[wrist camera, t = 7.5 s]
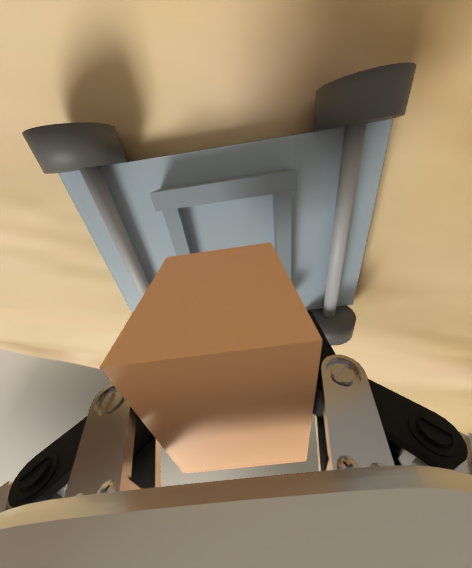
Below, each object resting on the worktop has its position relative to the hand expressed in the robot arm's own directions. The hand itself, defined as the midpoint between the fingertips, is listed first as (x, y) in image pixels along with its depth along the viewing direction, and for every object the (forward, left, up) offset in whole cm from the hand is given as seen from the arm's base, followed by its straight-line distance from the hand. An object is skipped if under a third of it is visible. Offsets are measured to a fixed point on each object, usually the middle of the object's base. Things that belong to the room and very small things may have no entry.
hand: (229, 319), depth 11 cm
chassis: (0, 0, -11) cm, 11 cm away
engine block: (0, 0, -1) cm, 1 cm away
